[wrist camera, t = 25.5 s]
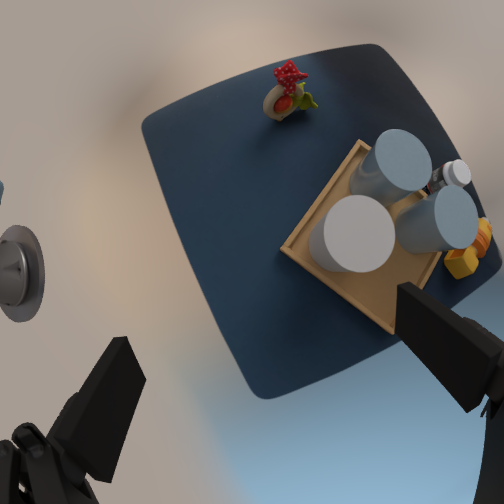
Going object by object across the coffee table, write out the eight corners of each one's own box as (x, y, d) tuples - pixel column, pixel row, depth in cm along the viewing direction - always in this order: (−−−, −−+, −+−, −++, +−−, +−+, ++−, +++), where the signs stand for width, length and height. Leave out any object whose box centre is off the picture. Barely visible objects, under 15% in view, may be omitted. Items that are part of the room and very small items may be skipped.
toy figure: (469, 213, 38) (441, 261, 38) (487, 207, 33) (460, 259, 32) (484, 233, 38) (457, 282, 37) (502, 229, 32) (476, 282, 32)
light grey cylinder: (326, 282, 39) (348, 287, 27) (298, 233, 39) (308, 217, 28) (370, 253, 38) (407, 247, 27) (343, 206, 39) (370, 182, 27)
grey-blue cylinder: (420, 264, 38) (465, 262, 26) (386, 233, 38) (424, 220, 27) (441, 225, 38) (485, 212, 26) (408, 195, 39) (447, 172, 27)
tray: (387, 332, 38) (392, 335, 36) (279, 250, 40) (279, 248, 38) (449, 224, 38) (456, 222, 36) (355, 144, 40) (358, 138, 38)
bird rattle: (291, 136, 43) (327, 101, 40) (271, 120, 33) (317, 75, 29) (266, 114, 44) (301, 79, 40) (240, 94, 34) (283, 51, 30)
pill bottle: (432, 167, 39) (456, 150, 31) (449, 185, 39) (475, 172, 30) (421, 185, 39) (447, 170, 31) (439, 204, 39) (467, 192, 30)
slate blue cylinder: (383, 221, 39) (420, 204, 27) (340, 193, 39) (364, 164, 27) (401, 181, 39) (438, 154, 27) (361, 154, 40) (388, 117, 28)
